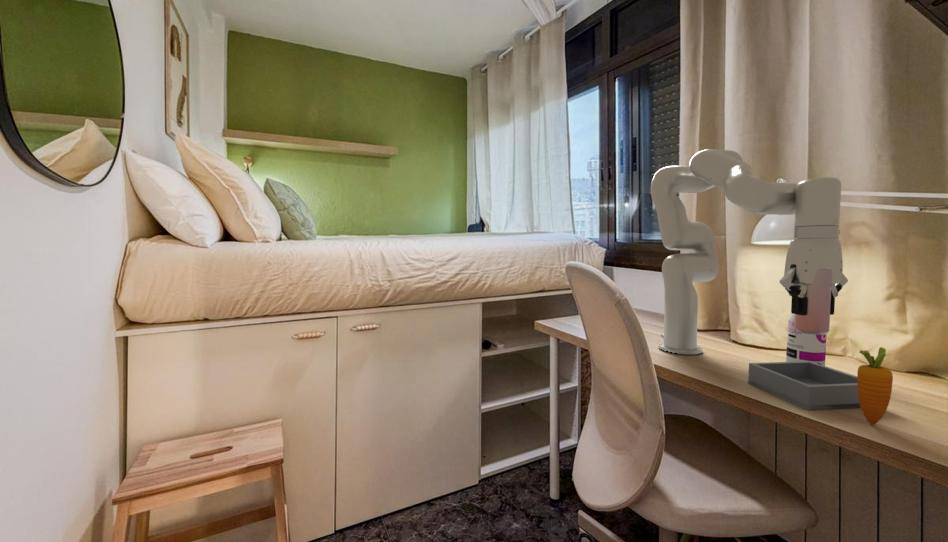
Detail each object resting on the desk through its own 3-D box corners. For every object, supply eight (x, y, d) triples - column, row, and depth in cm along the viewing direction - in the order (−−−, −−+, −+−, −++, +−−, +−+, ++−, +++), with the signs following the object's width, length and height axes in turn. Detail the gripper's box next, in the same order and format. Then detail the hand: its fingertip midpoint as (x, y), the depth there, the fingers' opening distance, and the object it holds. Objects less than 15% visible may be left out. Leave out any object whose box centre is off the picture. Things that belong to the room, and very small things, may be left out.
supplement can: (830, 369, 105) (833, 315, 104) (815, 374, 101) (818, 318, 100) (795, 361, 112) (797, 311, 111) (779, 366, 108) (782, 313, 107)
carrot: (861, 428, 72) (865, 349, 71) (848, 417, 77) (852, 343, 76) (897, 433, 70) (902, 352, 69) (881, 421, 75) (886, 345, 74)
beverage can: (791, 328, 91) (794, 265, 90) (825, 330, 88) (828, 266, 87) (797, 333, 86) (799, 267, 85) (832, 336, 83) (835, 267, 82)
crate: (748, 382, 96) (749, 363, 95) (808, 380, 97) (809, 361, 97) (808, 410, 80) (809, 387, 80) (879, 407, 81) (880, 384, 81)
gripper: (834, 234, 90) (831, 310, 91) (765, 235, 89) (762, 312, 90) (869, 233, 83) (865, 316, 84) (794, 234, 82) (791, 318, 83)
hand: (812, 313), depth 87 cm, fingers closed on beverage can, 5 cm apart
